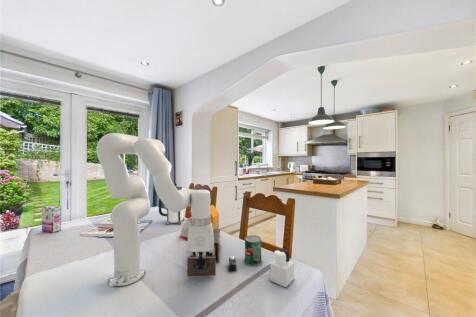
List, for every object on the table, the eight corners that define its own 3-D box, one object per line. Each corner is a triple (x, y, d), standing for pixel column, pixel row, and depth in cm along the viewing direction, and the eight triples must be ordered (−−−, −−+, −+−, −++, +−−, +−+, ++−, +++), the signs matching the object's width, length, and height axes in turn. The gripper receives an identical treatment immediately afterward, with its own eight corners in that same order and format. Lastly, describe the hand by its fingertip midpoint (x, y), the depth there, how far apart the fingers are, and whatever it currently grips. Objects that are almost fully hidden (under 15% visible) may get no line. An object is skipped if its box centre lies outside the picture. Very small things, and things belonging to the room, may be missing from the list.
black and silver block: (236, 271, 87) (236, 263, 87) (228, 271, 87) (228, 263, 87) (236, 262, 94) (236, 254, 94) (228, 262, 94) (228, 255, 94)
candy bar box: (61, 230, 135) (61, 206, 135) (52, 233, 130) (52, 208, 130) (50, 228, 139) (50, 205, 138) (41, 231, 134) (41, 206, 134)
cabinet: (218, 262, 95) (218, 242, 95) (191, 262, 94) (191, 243, 94) (220, 245, 112) (220, 229, 112) (197, 245, 112) (197, 229, 112)
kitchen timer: (192, 241, 117) (192, 216, 117) (176, 236, 124) (176, 213, 124) (207, 234, 129) (207, 211, 129) (192, 230, 136) (192, 208, 136)
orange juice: (201, 240, 119) (201, 207, 119) (207, 234, 128) (207, 203, 127) (213, 242, 117) (213, 208, 117) (219, 236, 125) (219, 204, 125)
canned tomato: (264, 260, 96) (264, 237, 96) (256, 267, 90) (256, 243, 90) (250, 255, 101) (250, 234, 101) (241, 262, 94) (241, 239, 94)
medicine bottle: (278, 272, 86) (278, 245, 86) (293, 279, 81) (294, 250, 81) (269, 280, 80) (269, 251, 80) (286, 288, 76) (286, 256, 76)
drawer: (214, 282, 77) (214, 264, 77) (184, 283, 77) (184, 264, 77) (217, 255, 99) (217, 241, 99) (194, 256, 98) (194, 241, 98)
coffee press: (179, 217, 163) (179, 181, 163) (188, 222, 151) (188, 183, 151) (158, 222, 152) (158, 183, 152) (166, 227, 140) (165, 185, 140)
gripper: (179, 224, 75) (180, 272, 75) (219, 223, 76) (219, 271, 76) (184, 218, 83) (184, 262, 83) (220, 217, 83) (220, 261, 83)
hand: (201, 266), depth 79 cm, fingers closed
